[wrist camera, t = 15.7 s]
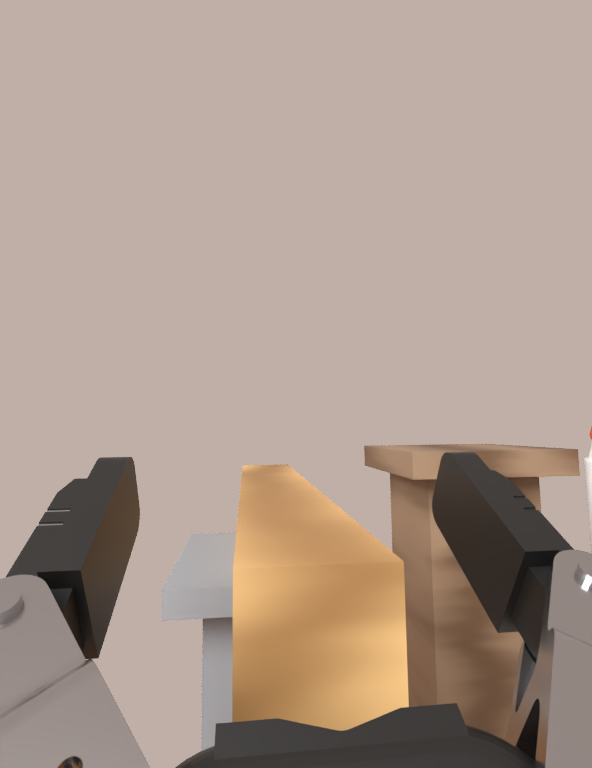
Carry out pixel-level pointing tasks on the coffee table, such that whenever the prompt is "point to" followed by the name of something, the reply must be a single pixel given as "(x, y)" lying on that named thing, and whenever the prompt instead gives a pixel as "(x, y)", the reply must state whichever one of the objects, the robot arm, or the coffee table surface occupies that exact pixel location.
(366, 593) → the ochre bar
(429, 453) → the tall pillar
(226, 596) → the short pillar
